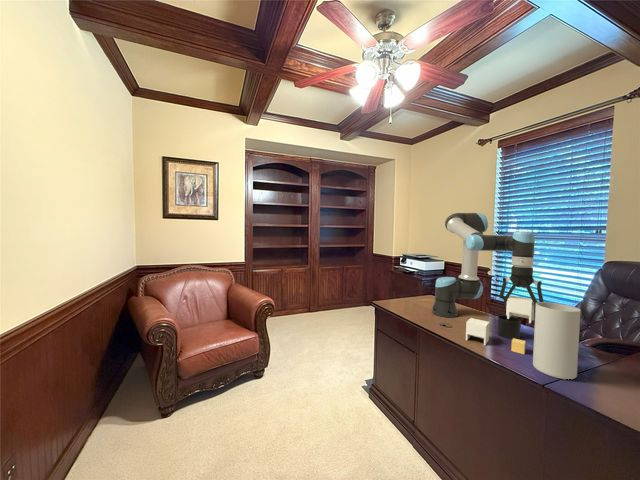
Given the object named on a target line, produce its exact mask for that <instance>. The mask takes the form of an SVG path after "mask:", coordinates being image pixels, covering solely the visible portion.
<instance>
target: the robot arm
mask: <svg viewBox="0 0 640 480" xmlns="http://www.w3.org/2000/svg"><path fill="white" fill-rule="evenodd" d="M444 226H445V229H446V231H448V232H449V233H452V234H455V235H456V236H458V237H459V238H461V239H462V240H463V244H462V258H461V273H460V274H459V275H458V279H457V278H456V277H453V276H442V277H438V278H437V279H436V280H435V290H434V303H433V305H432V307H431V313H432V314H433V315H434V316H435V315H436V316H439V317H444V318H457V317H458V315H459V312H458V308H457V304H456V299H466V300H467V299H468V300H475V299H477V300H478V299H479V298H480V297H481V296H482V295H483V292H484V286H483V283H482V281H481V280H480V277H478V267H479V266H478V264H479V251H480V252H482V251H483V252H484V251H488V252H489V251H491V252H493V251H494V252H495V251H496V252H510V253H511V252H512V253H511V254H512V255H511V265H512V266H511V270H510V271H511V273H510V274H511V275H510V276H509V277H508V276H507V277H506V276H503V278H502V285H501V289H500V292H499V296H498V297H499V299H502V301H503V308H506V313H505V316H507V310H508V298H509V297H510V296H512V293H513V291H514V290H515V289H516V288H522V289H526V291H527V292H528V295H529V297H530V299H532V301H533V304H532V318H531V320H532V321H534V322H535V309H536V303H537V302H545V301H544V297H543V292H542V280H537V279H534V277H533V276H534V268H533V266H534V256H535V254H534V253H535V244H536V243H535V241H536V240H535V233H534V232H533V231H517V230H516V231H514V232H513V233H512V235H509V234H505V235H504V234H503V235H502V234H501V235H500V234H499V235H498V234H495V235H493V234H484V233H485V232H486V231H487V230H488V228H489V221H488V219H487V217H486V215H485V214H484V213H481V212H455V213H451V214H450V215H449V216H447V217H446V218H445V221H444ZM509 281H511V283H512V285H511V287H510V288H509V290H508V291H507V293H506V295H505V291H506V288H507V284H508V282H509ZM533 283H534V285H535V286H536V290H537V291H536V292H537V296H538V300H537V297H536V296H535V294H534V291H533V290H532V287H531V285H532V284H533Z"/></svg>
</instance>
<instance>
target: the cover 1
mask: <svg viewBox="0 0 640 480" xmlns="http://www.w3.org/2000/svg"><path fill="white" fill-rule="evenodd" d="M465 324H466V326H465V341H468V340H469V339H470V338H471V337H474V338H477V339H481V340H483V346H487V343H488V342H489V341H490V324H491V323H490V321H487V320H484V319H483V320H482V319H479V318H478V319H477V318H473V317H470V318H469V319H467V321H466V323H465Z"/></svg>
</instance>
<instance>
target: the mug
mask: <svg viewBox="0 0 640 480" xmlns="http://www.w3.org/2000/svg"><path fill="white" fill-rule="evenodd" d="M521 327H522V325H521V319H519V318H517V317H516V316H512V315H511V316H510V318H509V319H507V315H498V316H497V330H496V332H497V333H496V334H497V335H499V336H500V337H503V338H505V339H509V340H513V338H514V339H519V340H520V338H521Z"/></svg>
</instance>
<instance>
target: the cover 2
mask: <svg viewBox="0 0 640 480" xmlns="http://www.w3.org/2000/svg"><path fill="white" fill-rule="evenodd" d="M532 304H534V303H533V301H532V299H531V297H530V298H529V297H521V296H515V295H510V296H509V298H508V310H507V315H506V316H507V319H509V318H510V316H511V317H519V318H524V319H528V324H532V321H533V320H531V318H532Z"/></svg>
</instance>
